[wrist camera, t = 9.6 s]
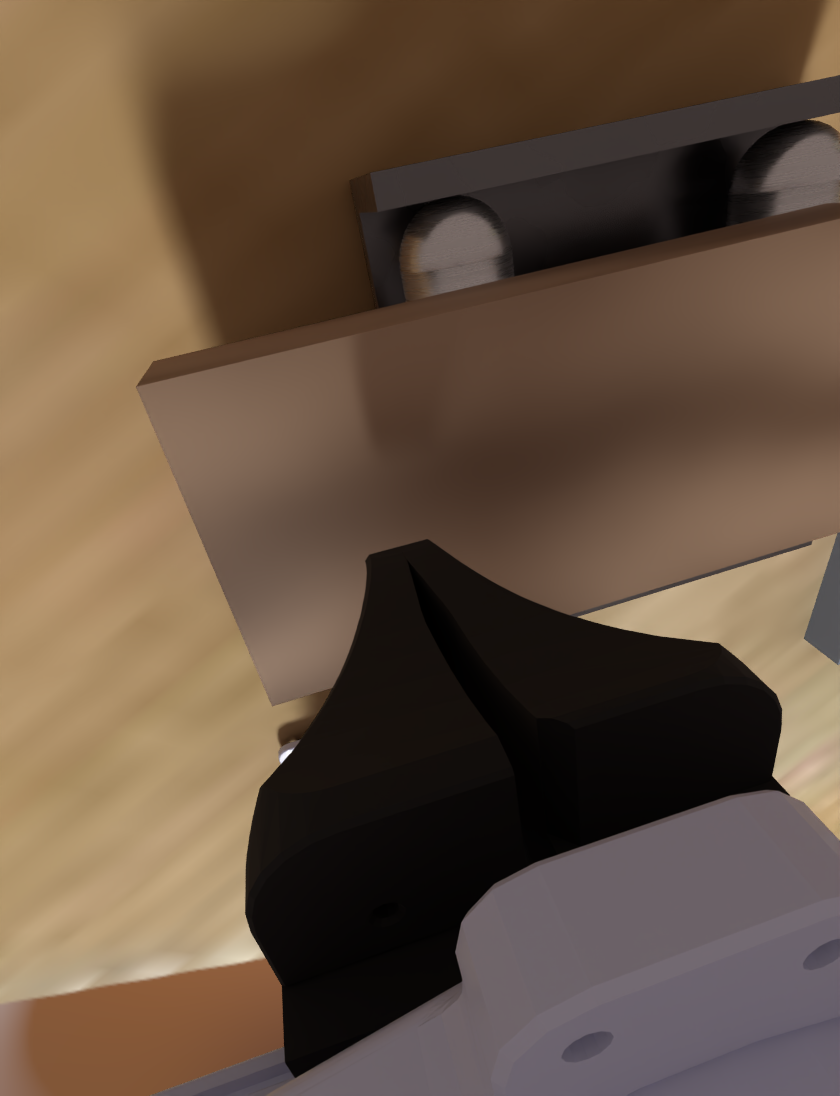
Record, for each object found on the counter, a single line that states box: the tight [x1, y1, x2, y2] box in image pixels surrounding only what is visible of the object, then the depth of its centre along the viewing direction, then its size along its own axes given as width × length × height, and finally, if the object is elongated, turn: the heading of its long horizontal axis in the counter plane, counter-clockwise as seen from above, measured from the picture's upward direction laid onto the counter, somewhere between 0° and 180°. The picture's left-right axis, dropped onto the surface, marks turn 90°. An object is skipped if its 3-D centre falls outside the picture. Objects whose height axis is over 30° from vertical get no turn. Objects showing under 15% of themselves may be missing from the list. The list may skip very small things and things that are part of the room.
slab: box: [136, 203, 840, 706], centre depth 16 cm, size 9×18×2 cm, turn 101°
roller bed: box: [350, 75, 840, 617], centre depth 20 cm, size 15×14×4 cm
